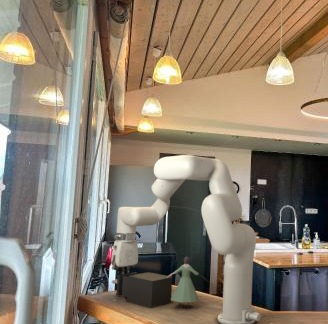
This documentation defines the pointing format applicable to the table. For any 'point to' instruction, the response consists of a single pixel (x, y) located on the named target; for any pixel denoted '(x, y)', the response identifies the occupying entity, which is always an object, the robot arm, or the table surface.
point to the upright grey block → (149, 289)
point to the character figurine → (185, 285)
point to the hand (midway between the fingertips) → (122, 283)
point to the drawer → (122, 284)
